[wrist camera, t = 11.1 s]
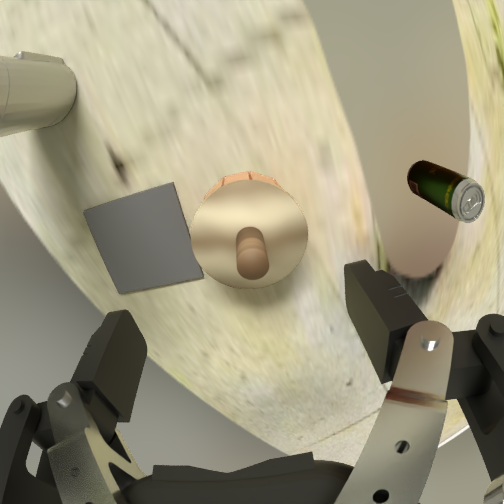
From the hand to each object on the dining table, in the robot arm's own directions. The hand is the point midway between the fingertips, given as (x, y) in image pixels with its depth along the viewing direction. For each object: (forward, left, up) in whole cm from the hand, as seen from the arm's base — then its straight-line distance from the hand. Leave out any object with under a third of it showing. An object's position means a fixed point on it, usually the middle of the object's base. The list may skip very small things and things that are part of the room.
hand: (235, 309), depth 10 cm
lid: (+7, 0, -22) cm, 23 cm away
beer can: (+6, +26, -28) cm, 39 cm away
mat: (+7, -15, -28) cm, 33 cm away
